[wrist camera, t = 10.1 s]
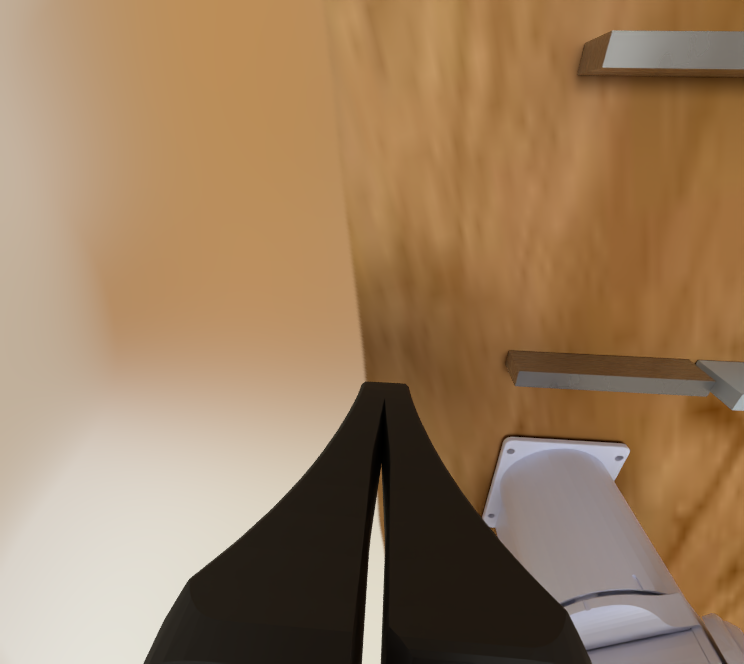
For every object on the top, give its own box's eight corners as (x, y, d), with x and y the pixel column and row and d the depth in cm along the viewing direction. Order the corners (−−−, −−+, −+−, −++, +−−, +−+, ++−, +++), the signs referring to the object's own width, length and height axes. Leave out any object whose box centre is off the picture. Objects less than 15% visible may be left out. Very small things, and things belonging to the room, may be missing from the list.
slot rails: (681, 373, 21) (706, 396, 19) (505, 364, 21) (514, 386, 19) (863, 45, 13) (933, 32, 11) (585, 43, 14) (612, 30, 12)
